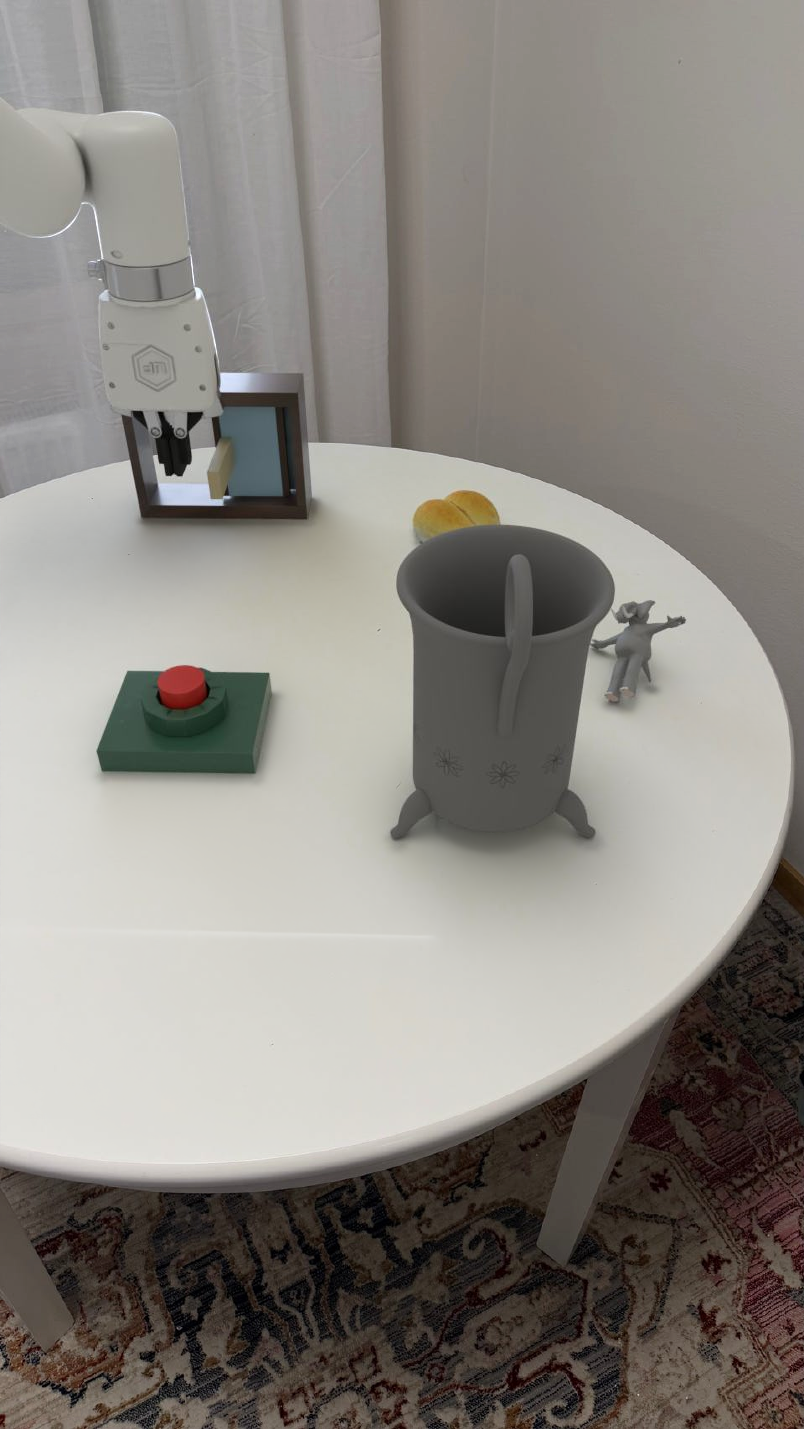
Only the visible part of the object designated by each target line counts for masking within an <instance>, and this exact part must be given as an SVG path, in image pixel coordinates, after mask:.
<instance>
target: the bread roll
mask: <svg viewBox="0 0 804 1429" xmlns="http://www.w3.org/2000/svg"><path fill="white" fill-rule="evenodd" d="M479 525H502V524H501V518H500V516H499V512H498V509H497V508H496V507H495V505H494V503H492V501H491V500H490V499H489V498H488V497H487V496H485V495H483V494H481V493H480V492H478V491H474V490H468V489H464V490H463V489H462V490H456V491H453V492H451V493H450V494H448V495H447V496H445V498H444V499H440V498H439V499H438V498H437V499H436V498H435V499H434V498H433V499H429V500H427V501H424V502H423V503H422V504H420V505H419V506H418V507H417V509H416V510H415V512H414V514H413V518H412V529H413V532H414V535H415V537H416V538H417V540H419V541H420V542H421V543H423V542H425V541H427V540H428V539H430V538H432V537H435V536H437V535H440V534H442V533H445V532H448V531H452V530H456V529H460V528H465V527H471V526H479Z"/></svg>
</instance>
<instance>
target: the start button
mask: <svg viewBox="0 0 804 1429" xmlns="http://www.w3.org/2000/svg"><path fill="white" fill-rule="evenodd" d="M199 668H200V667H197V666H194V665H189V664H187V665H186V664H181V665H176V666H172V667H169V668H167V669H166V670H163V671H164V672H163V673H162V674H161V675H160V676H159V678H158V688H159V692H160V697H161V701H162V703H163V705H164V706H166V707H167V708H169V709H172V710H186V709H189V708H192V707H195V706H198V705H200V704H201V703H202V702H203V701H204V700H205V699H206V696H207V690H206V684H205V678H204V674H203V672H202V671H201V670H200V669H199Z"/></svg>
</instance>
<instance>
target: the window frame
mask: <svg viewBox="0 0 804 1429" xmlns="http://www.w3.org/2000/svg"><path fill="white" fill-rule="evenodd" d="M220 377H221V386H220V389H219V390H220V392H221V395H222V398H223V401H224V404H225V407H284V418H285V429H286V441H287V452H288V464H289V475H290V487H291V496H290V497H283V496H223V499H211V497H210V490H209V483H171V482H170V483H169V482H168V483H167V482H165V483H164V482H163V483H161V482H158V477H157V470H156V466H155V465H156V464H155V460H154V459H155V458H154V454H153V449H152V442H151V438H150V433H149V430H148V429H147V428H146V427H145V426H143V425H142V424H141V423H140V422H139V421H138V420H136V419H135V418H134V417H132V416H131V417H129V416H125V415H121V414H120V415H121V420H122V426H123V431H124V436H125V441H126V447H127V451H128V456H129V462H130V467H131V472H132V477H133V481H134V482H133V483H134V487H135V493H136V498H137V501H138V508H139V513H140V517H141V518H154V519H155V518H157V519H158V518H160V519H161V518H164V519H165V518H167V519H168V518H169V519H171V518H172V519H266V520H267V519H274V520H275V519H277V520H280V519H281V520H286V519H287V520H308V519H309V514H310V508H311V504H312V499H313V491H312V490H313V489H312V476H311V464H310V462H311V461H310V450H309V449H310V448H309V435H308V434H309V433H308V422H307V420H308V419H307V408H306V392H305V379H304V373H302V372H220Z"/></svg>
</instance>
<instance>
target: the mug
mask: <svg viewBox="0 0 804 1429" xmlns="http://www.w3.org/2000/svg"><path fill="white" fill-rule="evenodd" d="M613 577H614V576H613V575H612V573H611V570H609V568H608V567H607V565H606V564H605V562H604V561H603V560H602V559H601V558H600V557H599V556H598V555H597V554H596V553H594V552H593V551H592V550H591V549H589V548H587V547H586V546H584V545H583V544H581V543H579V542H577V541H575V540H573V539H571V538H569V537H567V536H564V535H561V534H559V533H556V532H552V531H549V530H546V529H541V528H537V527H532V526H531V527H530V526H526V525H517V524H516V525H515V524H501V525H479V526H471V527H465V528H460V529H456V530H452V531H448V532H445V533H442V534H440V535H437V536H435V537H432V538H430V539H428V540H427V541H425V542H421V543H419V544H418V545H417V546H415V548H413V549H412V550H411V551H410V552H409V553H408V554H407V555H406V557H405V558H404V559H403V560H402V562H401V563H400V565H399V568H398V570H397V573H396V583H395V585H396V592H397V596H398V599H399V601H400V602H401V604H402V606H403V608H404V609H405V610H406V611H407V612H408V614H409V618H410V623H411V630H412V639H413V640H412V646H413V647H412V648H413V649H412V650H413V651H412V652H413V653H412V656H413V659H412V660H413V664H412V666H413V667H412V669H413V670H412V674H413V675H412V678H413V679H412V780H413V786H414V788H415V791H413V792H412V793H411V794H410V795H409V796H408V797H407V798H406V800H404V803H403V804H402V807H401V809H400V812H399V816H398V821H397V824H396V826H394V827H392V828H391V829H390V832H389V833H390V837H392V838H393V839H395V840H396V839H400V838H402V837H403V836H405V835H406V834H408V833H409V831H410V830H411V829H412V828H413V827H414V826H415V825H416V824H417V823H419V822H420V821H421V820H423V819H425V817H427V816H428V815H430V814H431V813H434V814H436V816H438V817H440V818H441V819H443V820H445V821H446V822H448V823H451V824H454V825H456V826H459V827H462V828H465V829H468V830H471V831H478V832H485V833H487V832H488V833H503V832H513V831H518V830H519V831H520V830H522V829H526V828H529V827H532V826H535V825H536V824H539V823H541V822H543V821H544V820H545V819H548V818H549V817H550V816H551V815H553V814H554V813H556V814H558V815H559V816H561V817H563V818H564V819H565V820H567V821H568V822H569V823H570V825H572V827H573V828H574V830H576V832H578V834H580V835H582V836H583V837H585V838H587V839H591V838H593V837H595V835H596V829H595V828H594V827H593V826H591V825H589V820H588V813H587V809H586V806H585V804H584V803H583V801H582V800H581V798H580V797H579V796H578V795H577V794H576V793H575V792H574V791H573V790H571V789H569V784H570V777H571V771H572V765H573V758H574V751H575V745H576V744H575V743H576V738H577V730H578V725H579V724H578V722H579V718H580V717H579V716H580V711H581V710H580V709H581V703H582V695H583V689H584V683H585V675H586V667H587V662H588V655H589V650H590V647H591V645H590V643H592V639H593V635H594V632H595V630H596V628H597V626H598V625H599V624H600V623H601V622H602V621H603V620H604V619H605V618H606V616H608V614H609V612H611V609H612V607H613V605H614V600H615V593H616V584H615V581H614V578H613Z"/></svg>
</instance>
